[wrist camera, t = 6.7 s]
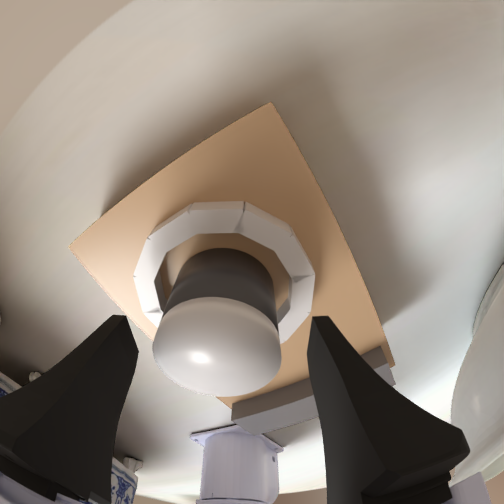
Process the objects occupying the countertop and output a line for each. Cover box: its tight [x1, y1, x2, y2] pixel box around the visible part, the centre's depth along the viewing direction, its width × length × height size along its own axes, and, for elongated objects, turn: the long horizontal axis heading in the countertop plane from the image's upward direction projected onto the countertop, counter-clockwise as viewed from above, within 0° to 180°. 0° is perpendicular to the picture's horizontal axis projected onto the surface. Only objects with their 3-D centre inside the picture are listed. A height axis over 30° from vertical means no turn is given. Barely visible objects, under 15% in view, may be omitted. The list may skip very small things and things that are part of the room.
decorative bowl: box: [0, 372, 143, 504], centre depth 25 cm, size 42×27×15 cm, turn 15°
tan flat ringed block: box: [68, 102, 396, 436], centre depth 16 cm, size 18×12×6 cm, turn 31°
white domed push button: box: [153, 248, 282, 397], centre depth 12 cm, size 5×5×4 cm
